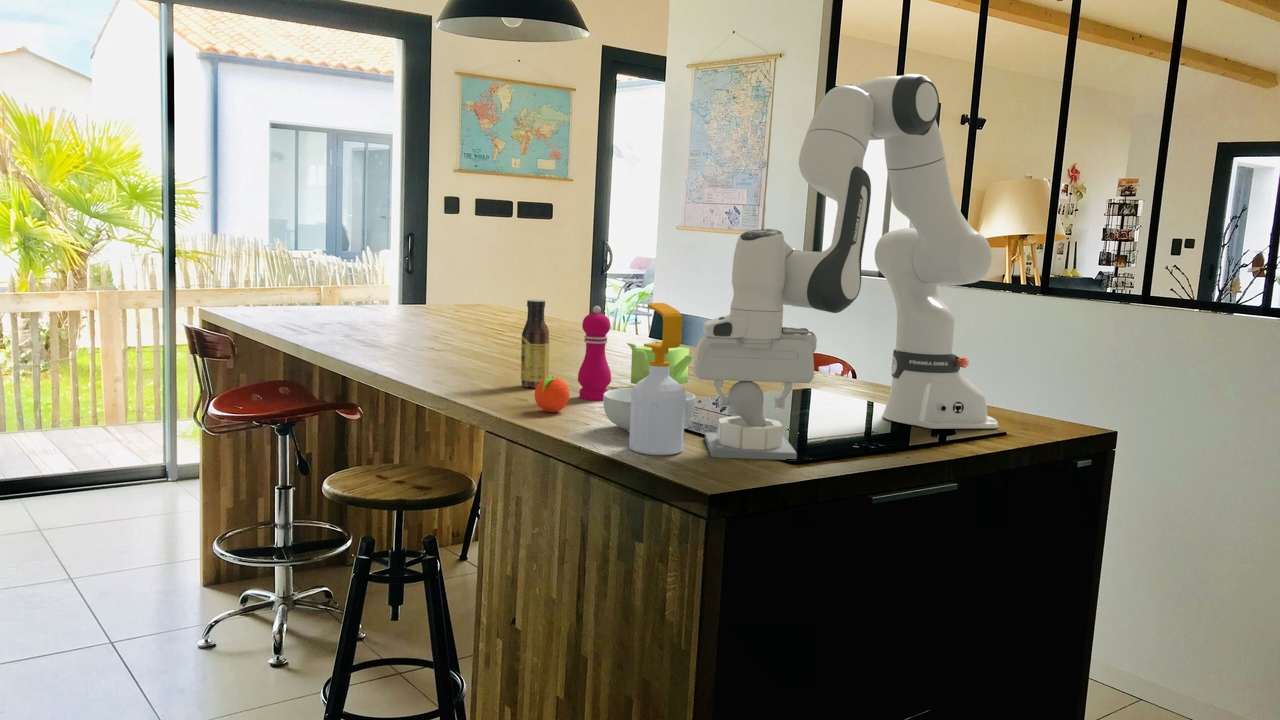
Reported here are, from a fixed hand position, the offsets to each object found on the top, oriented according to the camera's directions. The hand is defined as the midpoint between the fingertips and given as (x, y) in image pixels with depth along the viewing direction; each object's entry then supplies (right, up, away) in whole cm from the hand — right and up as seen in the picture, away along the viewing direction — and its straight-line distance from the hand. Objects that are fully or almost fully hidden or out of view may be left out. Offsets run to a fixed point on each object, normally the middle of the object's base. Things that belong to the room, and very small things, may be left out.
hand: (751, 407), depth 166 cm
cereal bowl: (-18, -5, +12) cm, 22 cm away
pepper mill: (-29, 0, +45) cm, 53 cm away
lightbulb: (+2, -6, +1) cm, 6 cm away
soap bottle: (-16, -7, -2) cm, 18 cm away
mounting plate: (0, -7, +1) cm, 7 cm away
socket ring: (0, -6, +1) cm, 6 cm away
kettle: (-15, +1, +61) cm, 63 cm away
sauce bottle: (-43, +2, +57) cm, 71 cm away
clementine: (-37, -3, +27) cm, 46 cm away
